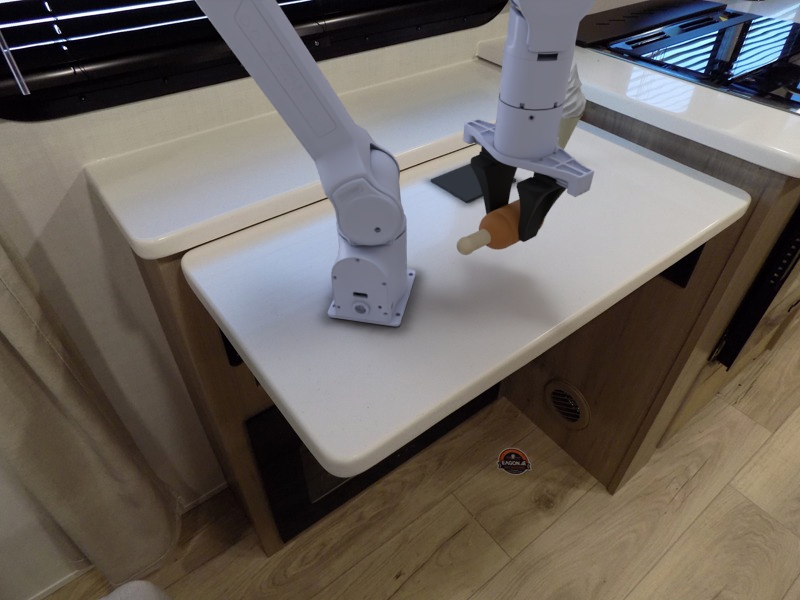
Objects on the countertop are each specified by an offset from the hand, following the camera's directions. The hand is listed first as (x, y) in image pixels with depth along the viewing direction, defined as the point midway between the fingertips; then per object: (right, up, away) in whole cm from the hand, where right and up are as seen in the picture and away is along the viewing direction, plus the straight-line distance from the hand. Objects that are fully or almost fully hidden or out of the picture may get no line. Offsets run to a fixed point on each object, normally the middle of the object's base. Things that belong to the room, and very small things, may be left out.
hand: (511, 227), depth 56 cm
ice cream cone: (+13, +14, +28) cm, 34 cm away
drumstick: (-1, -1, +1) cm, 2 cm away
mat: (-1, +10, +24) cm, 26 cm away
